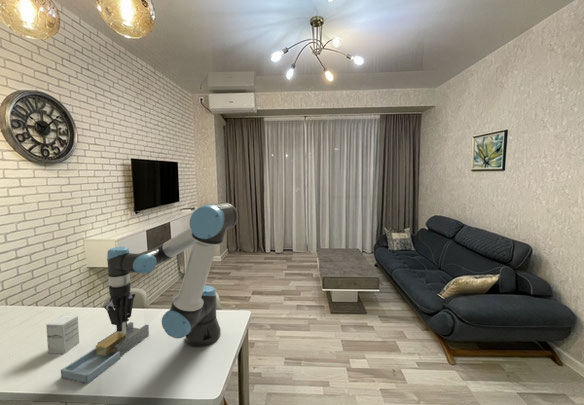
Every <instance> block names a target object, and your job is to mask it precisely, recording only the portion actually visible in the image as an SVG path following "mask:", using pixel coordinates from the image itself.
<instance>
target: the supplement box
mask: <svg viewBox="0 0 584 405" xmlns="http://www.w3.org/2000/svg"><path fill="white" fill-rule="evenodd" d="M46 339H47V340H46V342H47V353H48V354H66V353H68V352H69V351H71V350H72V349H73V348H74V346H75V347H76V346H78V344H80V333H79V316H78V315H60V316H58V317H56V318H55V319H54V320H52V321H50V322H48V323H46ZM71 348H72V349H71Z"/></svg>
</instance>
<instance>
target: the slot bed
mask: <svg viewBox="0 0 584 405" xmlns="http://www.w3.org/2000/svg"><path fill="white" fill-rule="evenodd" d="M149 326H150V325H149V324H144V325H143V326H141V327H140V328H138V327H134V322H129V323H128V322H127V328H126V339H124V340H123V341H121V342H120V343H118V344H117V345H115V350H114V351H113V352H111V353H110V354H109V355H110V356H113V355H114V354H116V353H117V352H120V358H121V357H122V356H124V355H125V354H126V353H127V352H129V351H131V350H132V349H133V348H134V347H136V346H137V345H139V343H141V342H142V341H144V340H145V339H146V338H147V337H149V336H150V330H149V329H150V327H149ZM115 333H118V331H117V330H115V331H114V332H112V333H111V334H110V335H108V336H106V337H105V338H104V339H101V340H100V341H99V342H97V344H99V343H101V342H102V341H104V340H105V339H107V338H108V337H110V336H111V335H113V334H115Z"/></svg>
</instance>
